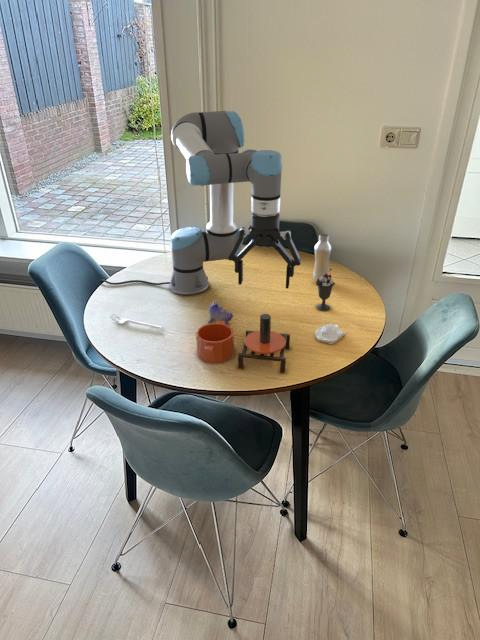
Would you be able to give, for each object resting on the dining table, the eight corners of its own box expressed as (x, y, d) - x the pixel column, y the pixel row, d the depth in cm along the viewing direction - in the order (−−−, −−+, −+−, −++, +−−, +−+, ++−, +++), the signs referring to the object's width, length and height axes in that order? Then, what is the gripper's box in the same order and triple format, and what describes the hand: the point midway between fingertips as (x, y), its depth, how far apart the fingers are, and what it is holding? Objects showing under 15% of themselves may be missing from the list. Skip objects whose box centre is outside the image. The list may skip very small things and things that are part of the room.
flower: (214, 319, 155) (224, 295, 160) (195, 322, 160) (205, 299, 165) (231, 336, 160) (240, 312, 165) (212, 338, 166) (221, 315, 171)
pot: (190, 366, 144) (189, 345, 140) (204, 336, 158) (203, 317, 155) (227, 370, 142) (227, 349, 138) (238, 340, 156) (238, 320, 153)
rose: (348, 333, 151) (317, 333, 151) (347, 345, 153) (316, 345, 153) (343, 317, 159) (314, 317, 160) (342, 329, 162) (313, 329, 162)
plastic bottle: (329, 286, 190) (334, 238, 180) (312, 286, 190) (316, 238, 180) (327, 279, 196) (331, 232, 186) (311, 279, 196) (314, 232, 186)
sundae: (334, 305, 176) (338, 267, 169) (329, 313, 171) (333, 275, 164) (317, 301, 179) (320, 264, 171) (311, 309, 174) (314, 272, 166)
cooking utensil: (160, 331, 161) (159, 326, 160) (109, 321, 167) (108, 317, 166) (164, 327, 164) (164, 322, 163) (114, 317, 170) (113, 312, 169)
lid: (241, 353, 141) (240, 325, 136) (248, 331, 151) (248, 304, 146) (283, 357, 139) (284, 329, 134) (287, 335, 149) (288, 308, 144)
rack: (238, 368, 143) (237, 354, 140) (246, 343, 155) (246, 330, 152) (284, 373, 141) (285, 359, 138) (289, 347, 152) (290, 334, 150)
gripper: (216, 214, 126) (218, 286, 137) (312, 220, 122) (306, 294, 132) (222, 205, 132) (224, 275, 143) (313, 210, 128) (308, 282, 139)
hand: (263, 284), depth 138 cm, fingers open, 13 cm apart
